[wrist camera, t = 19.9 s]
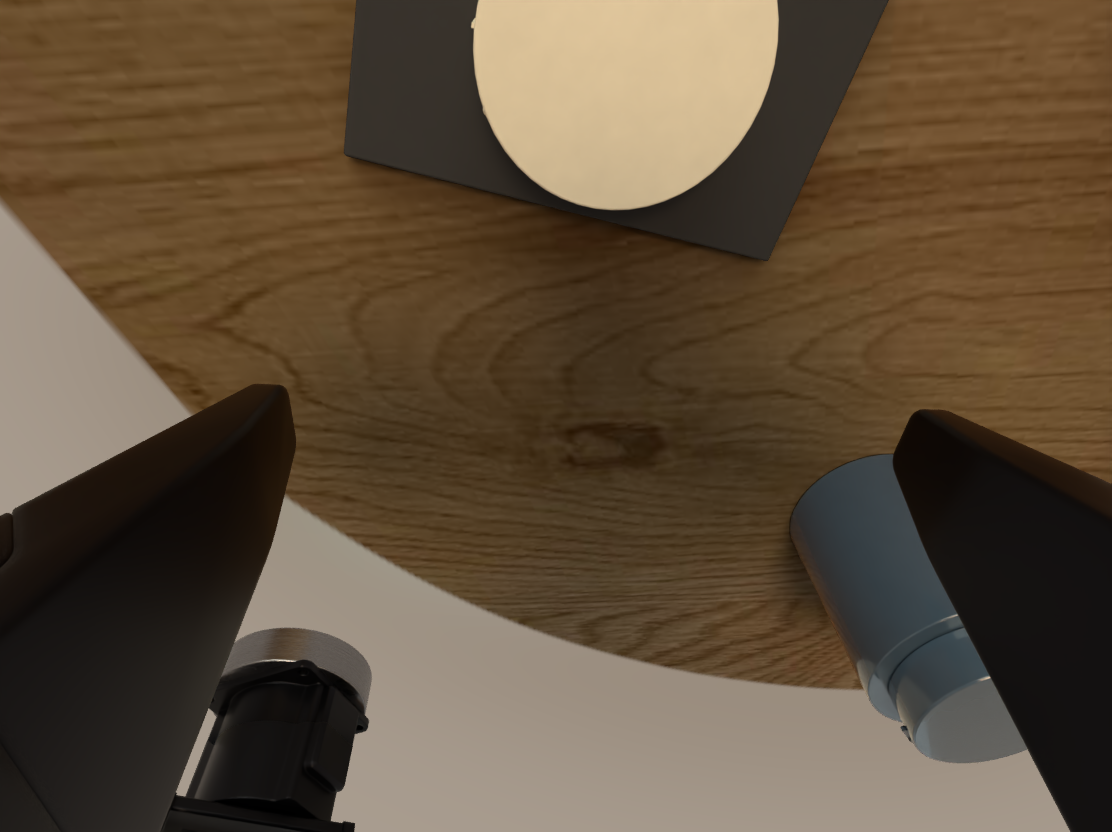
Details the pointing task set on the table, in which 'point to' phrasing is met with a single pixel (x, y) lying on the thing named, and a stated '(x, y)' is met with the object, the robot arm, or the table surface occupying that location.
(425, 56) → the mat
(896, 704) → the jar
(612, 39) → the lid
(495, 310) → the table surface
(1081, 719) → the robot arm
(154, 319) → the table surface
